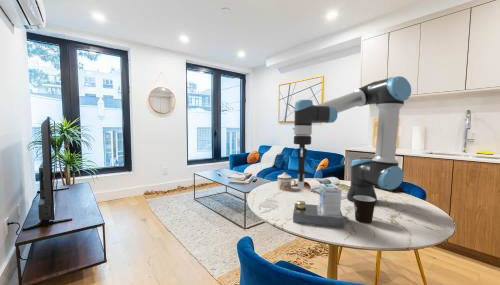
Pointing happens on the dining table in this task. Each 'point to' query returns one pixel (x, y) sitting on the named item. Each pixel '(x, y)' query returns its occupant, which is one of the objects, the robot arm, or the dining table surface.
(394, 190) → the battery charger
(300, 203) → the press pin
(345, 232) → the dining table surface
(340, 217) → the plate
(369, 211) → the coffee mug
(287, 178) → the teacup with lid
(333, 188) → the light bulb box
